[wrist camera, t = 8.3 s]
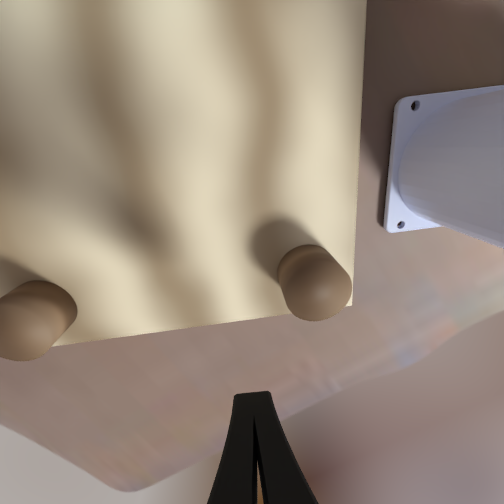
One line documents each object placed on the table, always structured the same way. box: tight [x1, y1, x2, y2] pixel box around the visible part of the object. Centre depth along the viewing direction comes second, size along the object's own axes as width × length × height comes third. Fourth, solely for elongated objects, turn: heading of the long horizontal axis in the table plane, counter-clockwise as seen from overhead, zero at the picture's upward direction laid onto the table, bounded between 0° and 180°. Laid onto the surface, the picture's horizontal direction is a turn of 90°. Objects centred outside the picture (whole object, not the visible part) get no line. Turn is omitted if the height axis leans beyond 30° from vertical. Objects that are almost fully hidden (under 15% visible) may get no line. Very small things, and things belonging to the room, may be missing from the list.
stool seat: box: [0, 0, 367, 361], centre depth 12 cm, size 22×22×5 cm
